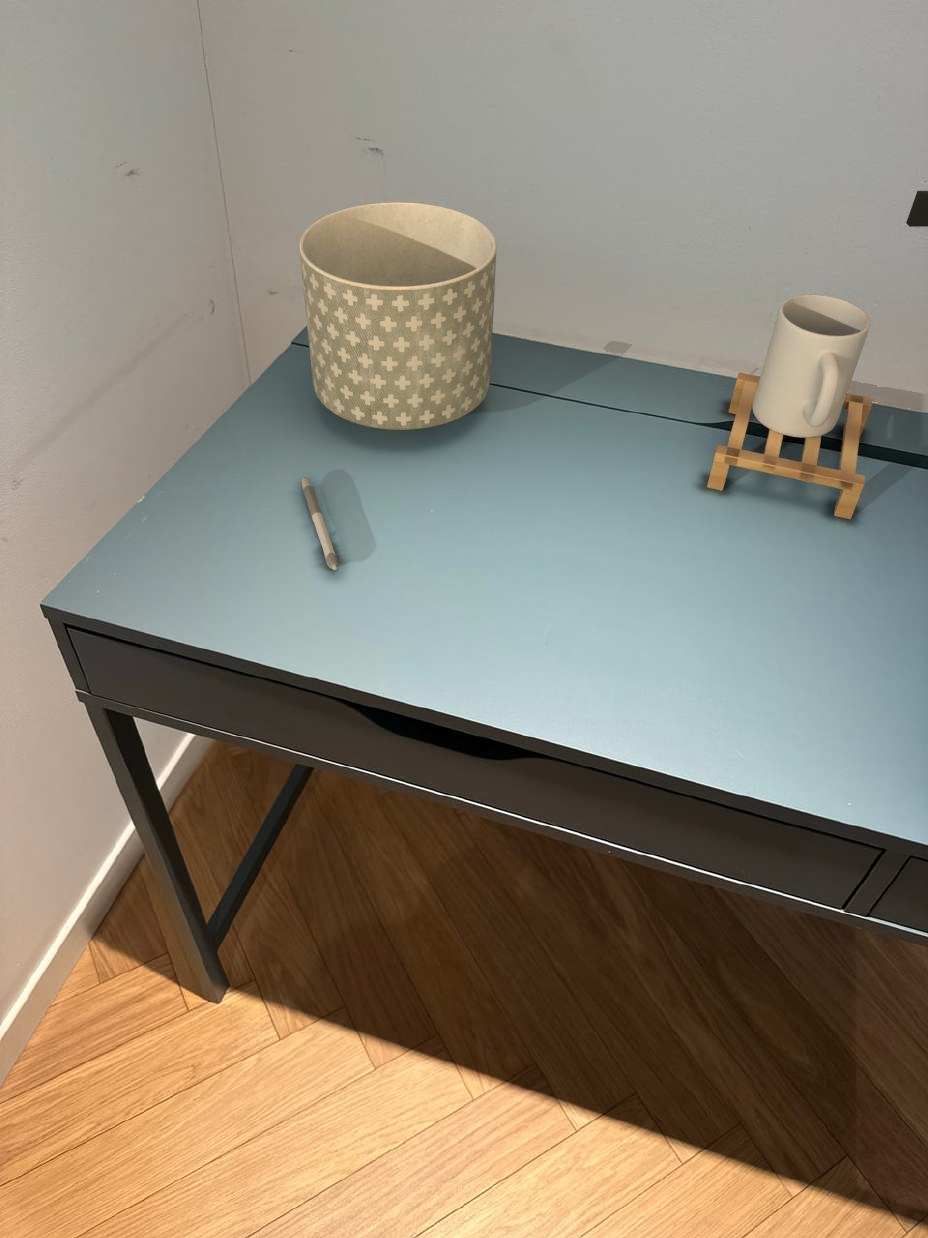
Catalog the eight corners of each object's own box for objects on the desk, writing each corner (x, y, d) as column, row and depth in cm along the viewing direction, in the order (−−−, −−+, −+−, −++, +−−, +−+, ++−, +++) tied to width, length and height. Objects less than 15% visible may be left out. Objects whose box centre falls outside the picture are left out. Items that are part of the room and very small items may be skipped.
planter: (509, 441, 101) (520, 276, 88) (330, 465, 97) (314, 296, 84) (464, 350, 114) (468, 194, 101) (304, 368, 110) (287, 209, 97)
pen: (330, 577, 86) (328, 565, 85) (299, 485, 95) (298, 473, 94) (341, 575, 86) (340, 563, 85) (309, 483, 95) (308, 472, 94)
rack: (850, 519, 93) (864, 485, 90) (706, 487, 96) (715, 452, 93) (860, 431, 104) (872, 397, 101) (730, 405, 107) (738, 371, 104)
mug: (745, 389, 101) (771, 291, 94) (826, 393, 101) (859, 295, 93) (764, 456, 93) (794, 355, 85) (853, 461, 93) (891, 359, 85)
